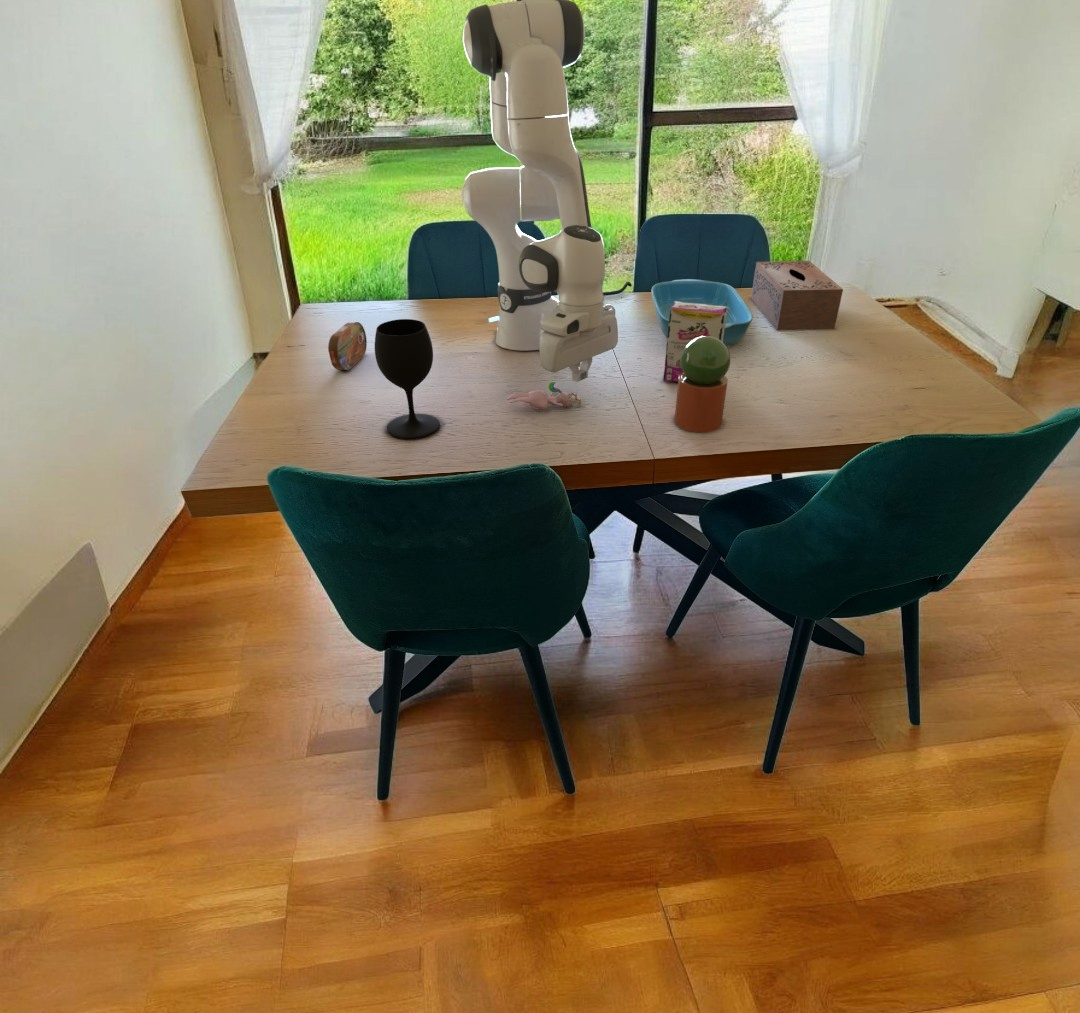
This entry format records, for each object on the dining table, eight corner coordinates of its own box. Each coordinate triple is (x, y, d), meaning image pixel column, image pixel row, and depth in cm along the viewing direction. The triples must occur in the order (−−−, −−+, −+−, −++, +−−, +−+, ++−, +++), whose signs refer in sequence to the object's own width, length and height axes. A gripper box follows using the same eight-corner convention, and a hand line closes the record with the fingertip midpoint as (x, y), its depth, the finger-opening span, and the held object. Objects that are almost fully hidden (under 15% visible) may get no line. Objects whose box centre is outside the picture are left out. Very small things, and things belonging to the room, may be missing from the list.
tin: (343, 376, 160) (336, 340, 156) (330, 375, 161) (323, 339, 156) (369, 351, 173) (364, 317, 168) (357, 350, 173) (351, 316, 169)
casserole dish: (758, 354, 167) (762, 324, 163) (662, 355, 168) (664, 325, 164) (726, 304, 198) (729, 277, 194) (644, 305, 198) (646, 278, 195)
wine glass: (388, 416, 143) (374, 318, 132) (441, 413, 144) (431, 316, 133) (384, 441, 135) (368, 338, 124) (439, 438, 135) (429, 336, 124)
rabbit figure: (572, 403, 150) (502, 402, 145) (576, 376, 147) (506, 374, 142) (582, 416, 145) (510, 415, 140) (587, 388, 142) (514, 387, 137)
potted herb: (691, 407, 145) (700, 325, 135) (730, 421, 139) (743, 336, 130) (665, 422, 139) (672, 338, 130) (704, 437, 134) (715, 350, 125)
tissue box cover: (751, 298, 202) (756, 261, 196) (802, 297, 202) (809, 260, 196) (777, 330, 180) (783, 290, 175) (834, 329, 180) (843, 289, 175)
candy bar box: (662, 382, 155) (669, 307, 146) (666, 373, 159) (673, 300, 150) (715, 389, 152) (725, 312, 143) (718, 379, 156) (728, 305, 147)
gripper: (603, 298, 150) (601, 361, 158) (533, 323, 138) (535, 389, 146) (626, 305, 146) (623, 369, 154) (557, 330, 134) (557, 398, 142)
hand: (580, 379), depth 150 cm, fingers closed
